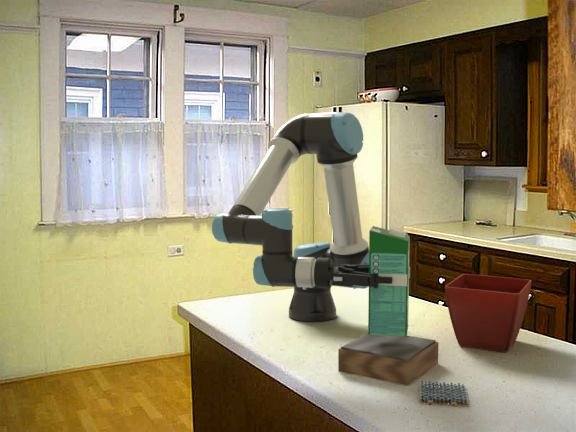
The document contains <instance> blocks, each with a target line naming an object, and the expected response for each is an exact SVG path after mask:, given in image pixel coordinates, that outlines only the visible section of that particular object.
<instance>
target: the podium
mask: <svg viewBox="0 0 576 432" xmlns="http://www.w3.org/2000/svg"><path fill="white" fill-rule="evenodd" d="M337 351H338V355H337V357H338V359H337V360H338V368H337V370H338V372H340V373H345V374H350V375H355V376H360V377H364V378H369V379H373V380H379V381H385V382H388V383H391V384H393V383H394V384H399V385H402V386H410V385H411V384H412V383H414V382H415V381H417V380H418V379H419V378H420V377H422V376H424V375H425V374H426V373H427V372H428V371H430V370H431V369H433V368H434V367H435V366H437V365H438V364H439V341H437V340H436V339H430V338H424V337H418V336H417V337H416V336H412V335H407V337H401V336H384V335H368V332H367V333H365V334H363V335H361V336H359V337H358V338H356V339H354V340H352V341H350V342H348V343H346V344H343V345H342V346H340V348H338V349H337Z"/></svg>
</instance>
